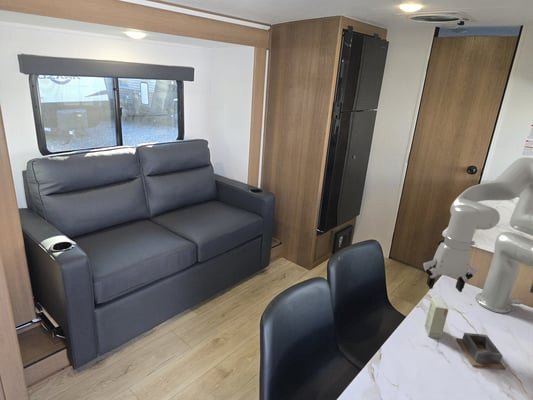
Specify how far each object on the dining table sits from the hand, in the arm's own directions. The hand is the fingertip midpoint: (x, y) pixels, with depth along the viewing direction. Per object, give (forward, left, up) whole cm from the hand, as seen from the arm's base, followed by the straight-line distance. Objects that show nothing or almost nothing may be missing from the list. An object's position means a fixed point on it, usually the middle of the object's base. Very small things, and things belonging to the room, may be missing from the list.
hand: (443, 288), depth 119 cm
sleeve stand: (-12, +9, -18) cm, 24 cm away
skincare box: (0, 0, -19) cm, 19 cm away
